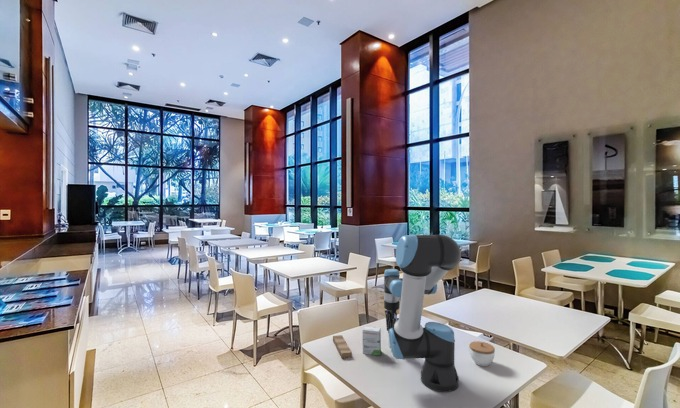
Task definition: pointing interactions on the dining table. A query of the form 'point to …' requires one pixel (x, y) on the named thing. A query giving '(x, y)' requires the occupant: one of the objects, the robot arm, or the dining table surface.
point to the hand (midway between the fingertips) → (391, 347)
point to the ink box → (371, 340)
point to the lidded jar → (481, 353)
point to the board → (342, 347)
